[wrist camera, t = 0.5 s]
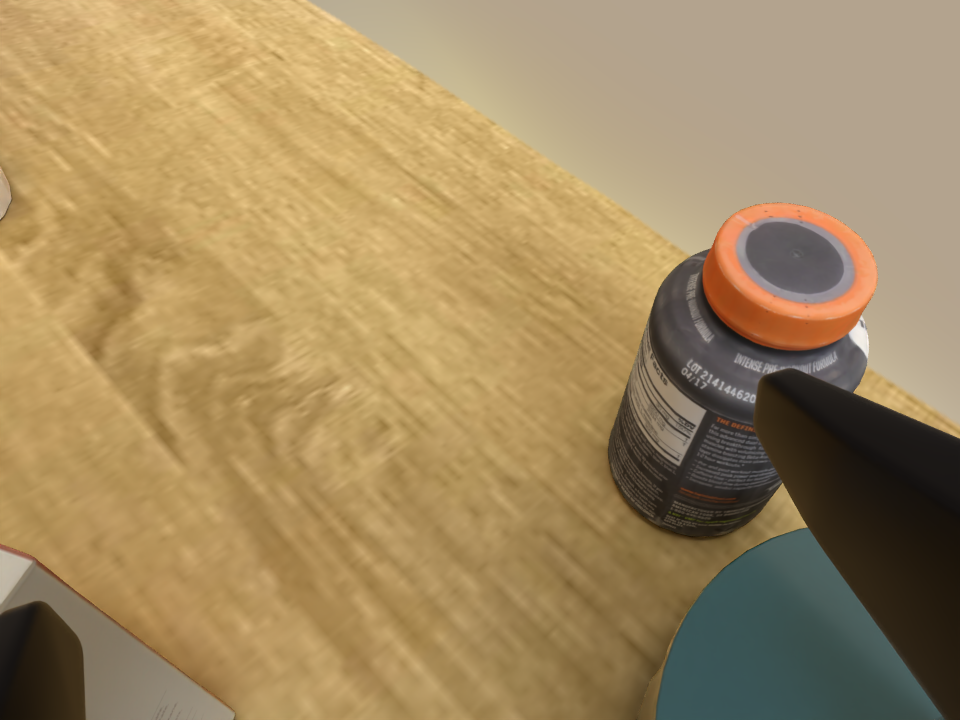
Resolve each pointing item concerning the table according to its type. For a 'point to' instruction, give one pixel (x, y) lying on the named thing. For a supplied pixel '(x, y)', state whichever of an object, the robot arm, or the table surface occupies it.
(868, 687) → the pot lid
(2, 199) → the white cup
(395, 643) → the table surface
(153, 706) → the small box
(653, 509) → the pill bottle
